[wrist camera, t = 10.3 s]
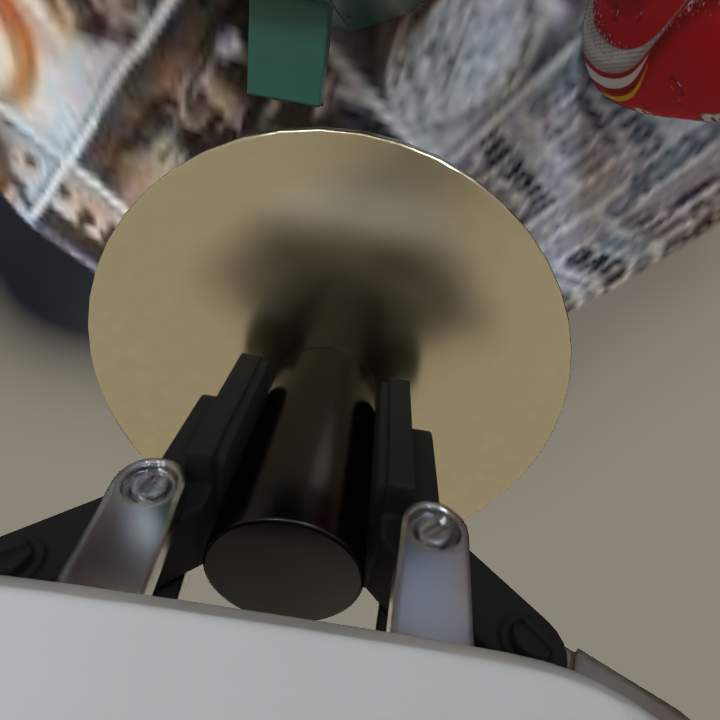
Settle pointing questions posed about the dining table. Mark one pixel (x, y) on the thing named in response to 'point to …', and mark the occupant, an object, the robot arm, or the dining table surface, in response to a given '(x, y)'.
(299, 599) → the lid
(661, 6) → the soda can
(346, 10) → the pot
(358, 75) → the dining table surface
